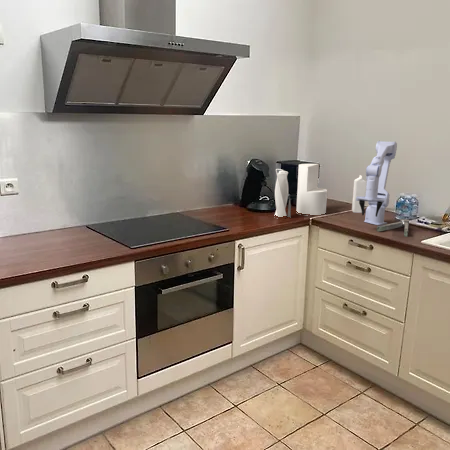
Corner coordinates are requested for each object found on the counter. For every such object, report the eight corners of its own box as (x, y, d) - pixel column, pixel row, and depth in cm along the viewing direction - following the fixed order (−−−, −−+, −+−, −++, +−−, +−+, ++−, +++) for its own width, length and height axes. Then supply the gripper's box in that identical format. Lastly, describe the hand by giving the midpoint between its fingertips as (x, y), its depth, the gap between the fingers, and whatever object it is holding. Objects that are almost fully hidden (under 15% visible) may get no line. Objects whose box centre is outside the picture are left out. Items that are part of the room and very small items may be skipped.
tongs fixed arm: (399, 224, 246) (400, 219, 245) (408, 225, 244) (409, 219, 244) (398, 235, 224) (399, 229, 223) (408, 236, 222) (409, 230, 222)
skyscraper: (278, 220, 254) (280, 169, 247) (270, 217, 261) (272, 168, 254) (291, 219, 257) (293, 169, 250) (283, 216, 264) (285, 167, 257)
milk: (361, 210, 279) (364, 174, 274) (364, 213, 273) (367, 176, 268) (351, 210, 279) (354, 174, 274) (353, 212, 273) (356, 175, 268)
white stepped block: (291, 213, 270) (293, 165, 263) (302, 208, 284) (305, 163, 277) (319, 217, 261) (322, 168, 254) (329, 211, 275) (333, 165, 268)
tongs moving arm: (402, 225, 243) (403, 221, 242) (407, 226, 241) (407, 222, 240) (376, 230, 232) (377, 226, 231) (381, 232, 229) (381, 227, 229)
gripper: (356, 189, 228) (354, 215, 232) (386, 191, 223) (384, 218, 226) (357, 187, 235) (355, 213, 238) (387, 189, 229) (385, 215, 233)
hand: (369, 215), depth 233 cm, fingers open, 6 cm apart
